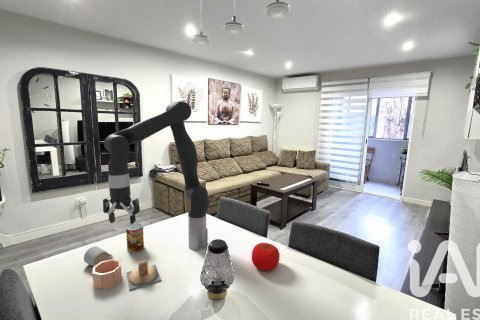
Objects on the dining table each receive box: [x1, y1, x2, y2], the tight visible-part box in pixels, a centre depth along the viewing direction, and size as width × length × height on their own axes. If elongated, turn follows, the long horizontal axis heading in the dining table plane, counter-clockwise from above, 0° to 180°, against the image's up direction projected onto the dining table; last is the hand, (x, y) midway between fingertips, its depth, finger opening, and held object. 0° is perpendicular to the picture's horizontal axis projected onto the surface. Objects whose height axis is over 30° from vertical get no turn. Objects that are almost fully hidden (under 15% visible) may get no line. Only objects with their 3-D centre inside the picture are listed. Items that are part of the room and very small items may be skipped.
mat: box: [126, 264, 162, 291], centre depth 100 cm, size 12×12×1 cm
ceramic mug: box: [83, 245, 114, 267], centre depth 109 cm, size 11×8×8 cm
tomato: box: [251, 242, 281, 272], centre depth 109 cm, size 14×13×10 cm
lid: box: [129, 259, 158, 285], centre depth 99 cm, size 11×11×6 cm
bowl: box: [92, 258, 123, 290], centre depth 97 cm, size 10×10×6 cm
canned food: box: [125, 222, 145, 254], centre depth 121 cm, size 8×8×12 cm
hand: (122, 222), depth 98 cm, fingers open, 8 cm apart
